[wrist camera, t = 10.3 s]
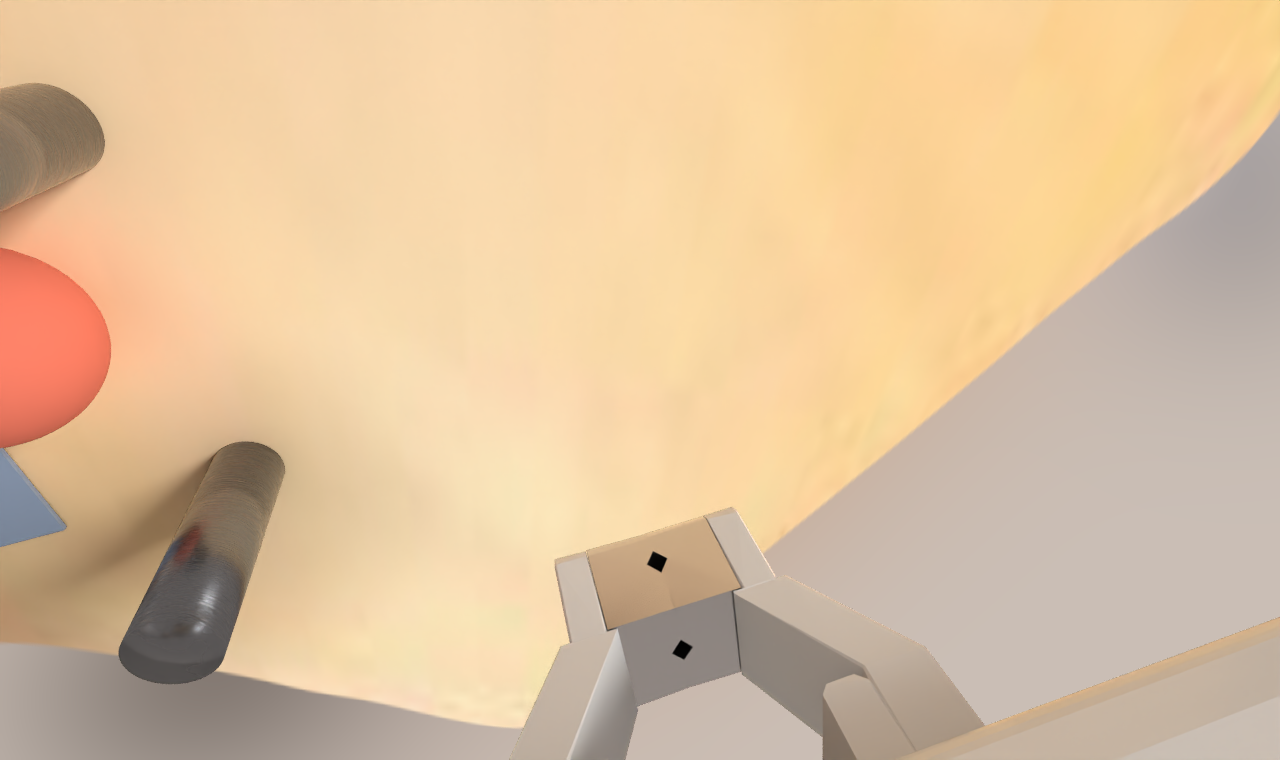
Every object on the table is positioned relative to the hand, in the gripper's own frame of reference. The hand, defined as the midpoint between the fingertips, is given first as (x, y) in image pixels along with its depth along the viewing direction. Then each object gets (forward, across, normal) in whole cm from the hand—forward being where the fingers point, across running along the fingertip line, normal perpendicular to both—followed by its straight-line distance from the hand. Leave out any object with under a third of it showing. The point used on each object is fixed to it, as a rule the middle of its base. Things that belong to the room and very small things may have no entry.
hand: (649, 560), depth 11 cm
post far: (+17, +13, +6) cm, 23 cm away
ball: (+14, +16, -2) cm, 22 cm away
